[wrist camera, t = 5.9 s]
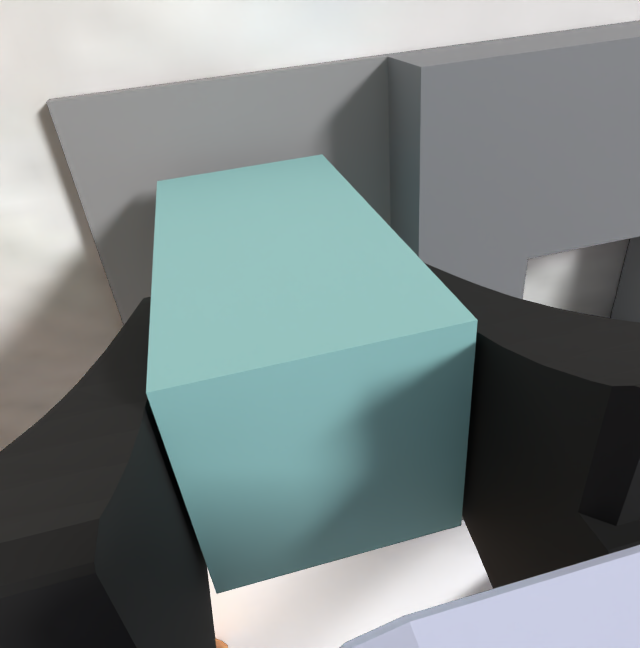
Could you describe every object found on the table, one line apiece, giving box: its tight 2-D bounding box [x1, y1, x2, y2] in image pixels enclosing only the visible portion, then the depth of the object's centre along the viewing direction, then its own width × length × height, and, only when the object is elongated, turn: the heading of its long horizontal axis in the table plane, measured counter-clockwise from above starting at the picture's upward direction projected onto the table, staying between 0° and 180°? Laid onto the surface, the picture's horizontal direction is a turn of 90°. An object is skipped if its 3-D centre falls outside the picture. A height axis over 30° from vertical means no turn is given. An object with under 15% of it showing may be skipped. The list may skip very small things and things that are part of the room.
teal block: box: [146, 154, 478, 593], centre depth 11 cm, size 4×4×8 cm
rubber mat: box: [46, 55, 391, 325], centre depth 15 cm, size 8×8×1 cm
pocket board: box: [384, 21, 640, 520], centre depth 18 cm, size 16×12×2 cm
